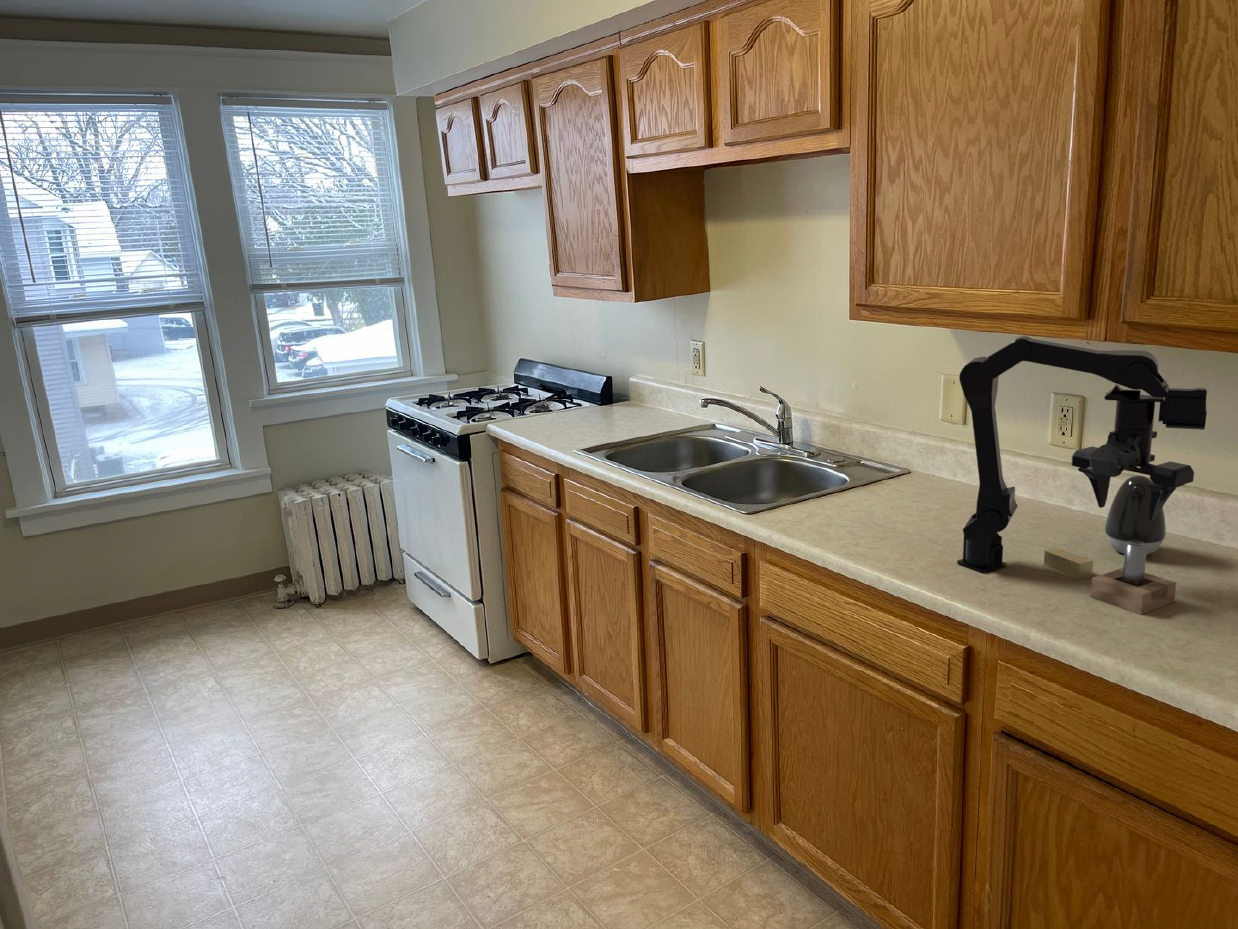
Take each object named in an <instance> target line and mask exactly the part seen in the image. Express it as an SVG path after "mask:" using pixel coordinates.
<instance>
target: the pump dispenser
mask: <svg viewBox="0 0 1238 929" xmlns="http://www.w3.org/2000/svg"><path fill="white" fill-rule="evenodd" d="M1151 483H1153V482H1152V480H1151V479H1150V477H1147V476H1144V475H1133V476H1130V477H1128V478H1127V479H1126V480H1124V482H1122V484H1121V485H1120V486H1119V488H1118V490H1117V491H1116V494H1114V497H1113V500H1112V502H1111V505H1110V508H1109V511H1108V514H1107V517H1106V521H1105V525H1104V533H1105V535H1106V537H1107V540H1108V543H1109V545H1110V546H1111V547H1112V548H1113V549H1114V550H1116V551H1117V552H1119V553H1121V554H1125V543H1126V542H1127V541H1140V542H1144V543H1146V544H1147V553H1146V556H1147V555H1151V554H1153V553H1154V552H1156V551H1157V550H1159V548H1160V547H1161V545H1162V543H1163V541H1164V540H1165V538H1166V535H1167V528H1166V527H1167V526H1166V516H1165V510H1164V506H1163V507H1162V509H1161V510H1160V512H1159V513H1158V515H1157V517H1156V518H1155V519H1154V520H1149V506H1150V498H1151V491H1150V489H1149V487H1148V484H1151Z"/></svg>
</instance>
